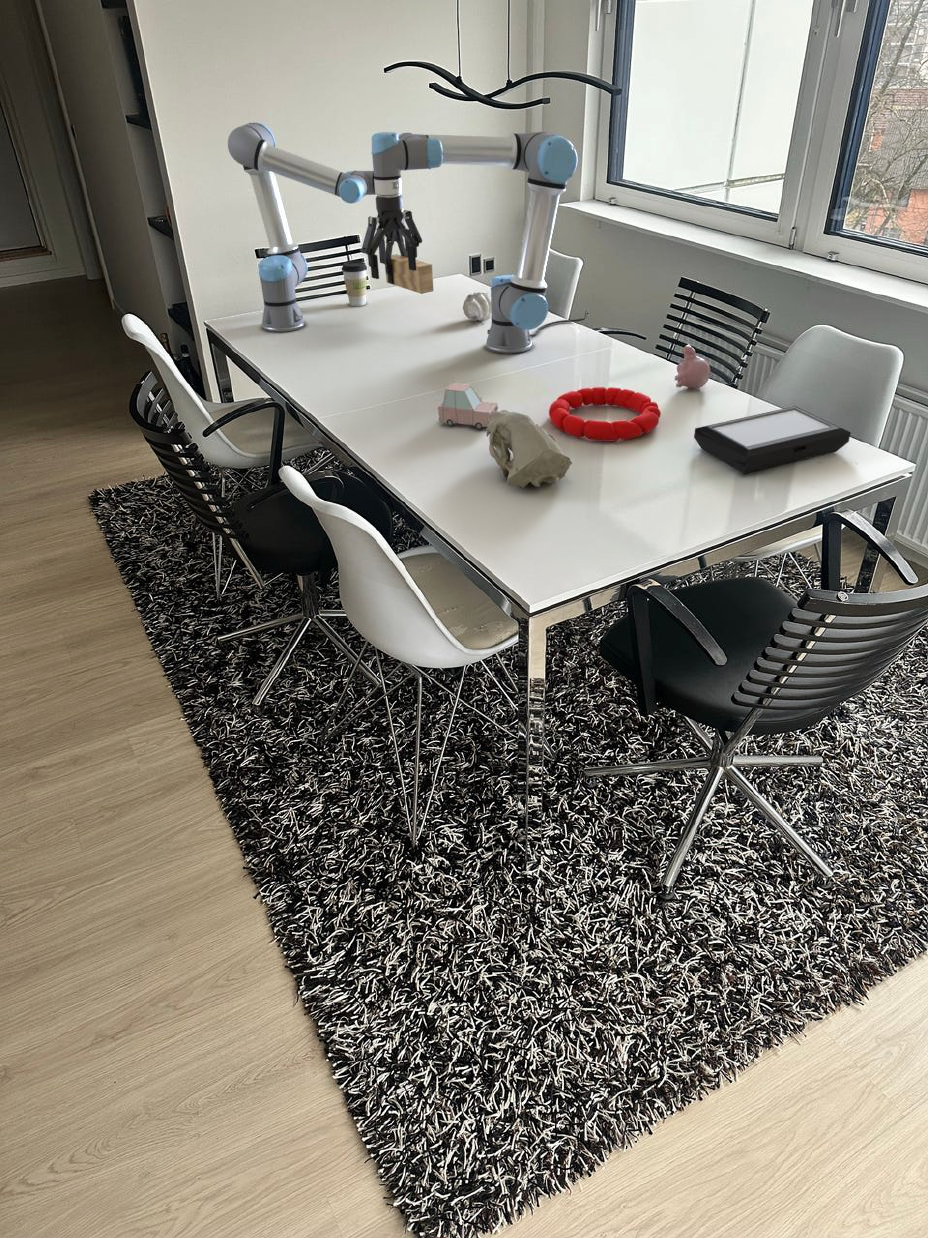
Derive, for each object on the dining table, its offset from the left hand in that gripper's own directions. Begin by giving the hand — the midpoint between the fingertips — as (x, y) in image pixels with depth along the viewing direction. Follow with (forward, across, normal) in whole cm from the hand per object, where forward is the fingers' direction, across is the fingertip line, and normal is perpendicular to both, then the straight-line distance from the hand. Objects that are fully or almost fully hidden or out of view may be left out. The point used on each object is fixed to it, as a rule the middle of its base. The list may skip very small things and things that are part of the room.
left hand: (397, 281), depth 325 cm
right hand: (-18, -35, -54) cm, 67 cm away
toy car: (+13, -42, -99) cm, 108 cm away
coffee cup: (+13, -3, +26) cm, 29 cm away
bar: (0, 0, -8) cm, 8 cm away
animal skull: (+13, -51, -131) cm, 141 cm away
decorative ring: (+13, -14, -122) cm, 124 cm away
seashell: (+13, +19, -24) cm, 33 cm away
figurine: (+14, +23, -121) cm, 124 cm away
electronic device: (+14, +4, -163) cm, 164 cm away
